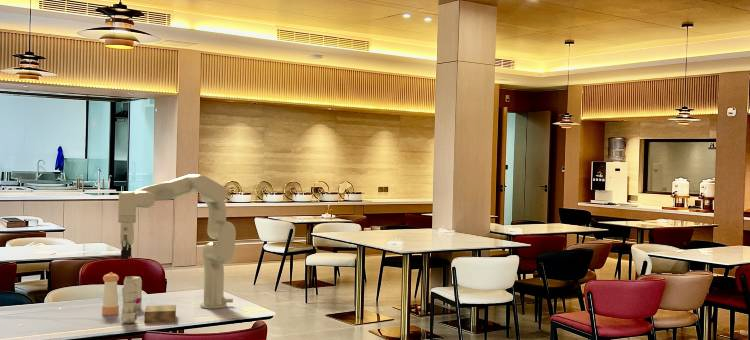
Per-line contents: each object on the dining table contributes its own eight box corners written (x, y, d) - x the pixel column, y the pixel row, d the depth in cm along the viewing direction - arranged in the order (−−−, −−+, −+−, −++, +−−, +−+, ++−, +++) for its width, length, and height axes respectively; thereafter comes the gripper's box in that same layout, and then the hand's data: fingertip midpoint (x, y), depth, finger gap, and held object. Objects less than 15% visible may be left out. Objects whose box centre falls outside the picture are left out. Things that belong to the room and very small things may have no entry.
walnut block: (175, 315, 345) (175, 305, 345) (175, 322, 332) (175, 310, 332) (146, 316, 342) (146, 305, 342) (144, 323, 329) (144, 311, 329)
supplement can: (136, 310, 354) (136, 279, 354) (120, 309, 356) (120, 278, 355) (144, 307, 362) (145, 276, 362) (129, 306, 364) (129, 275, 363)
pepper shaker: (122, 312, 349) (122, 271, 349) (111, 315, 342) (112, 274, 342) (109, 311, 352) (109, 270, 351) (98, 314, 345) (99, 272, 344)
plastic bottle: (122, 321, 331) (123, 276, 331) (138, 321, 331) (139, 276, 331) (119, 324, 324) (119, 278, 324) (135, 324, 325) (135, 279, 325)
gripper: (133, 221, 327) (132, 260, 327) (137, 217, 344) (136, 255, 344) (115, 220, 325) (114, 260, 326) (120, 217, 342) (119, 255, 343)
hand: (126, 257), depth 335 cm, fingers open, 9 cm apart
